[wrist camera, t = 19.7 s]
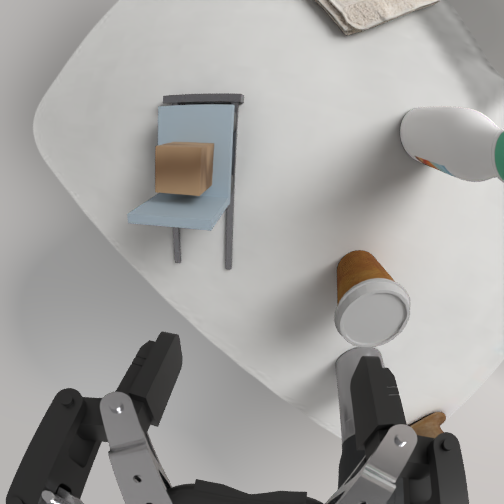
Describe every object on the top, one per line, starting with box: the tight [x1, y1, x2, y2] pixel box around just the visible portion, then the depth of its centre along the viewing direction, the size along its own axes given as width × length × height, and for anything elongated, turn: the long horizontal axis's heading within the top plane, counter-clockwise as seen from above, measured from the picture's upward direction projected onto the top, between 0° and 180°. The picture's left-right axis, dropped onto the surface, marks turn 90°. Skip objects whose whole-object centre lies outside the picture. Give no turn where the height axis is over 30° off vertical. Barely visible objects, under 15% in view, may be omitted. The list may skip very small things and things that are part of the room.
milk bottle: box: [400, 106, 504, 182], centre depth 21 cm, size 8×8×20 cm
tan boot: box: [410, 412, 446, 438], centre depth 51 cm, size 15×12×15 cm
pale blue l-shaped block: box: [127, 104, 237, 231], centre depth 29 cm, size 12×9×12 cm
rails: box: [163, 94, 244, 269], centre depth 37 cm, size 24×10×2 cm, turn 177°
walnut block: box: [155, 142, 214, 196], centre depth 30 cm, size 5×5×5 cm
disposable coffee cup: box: [335, 250, 410, 348], centre depth 35 cm, size 10×10×12 cm
